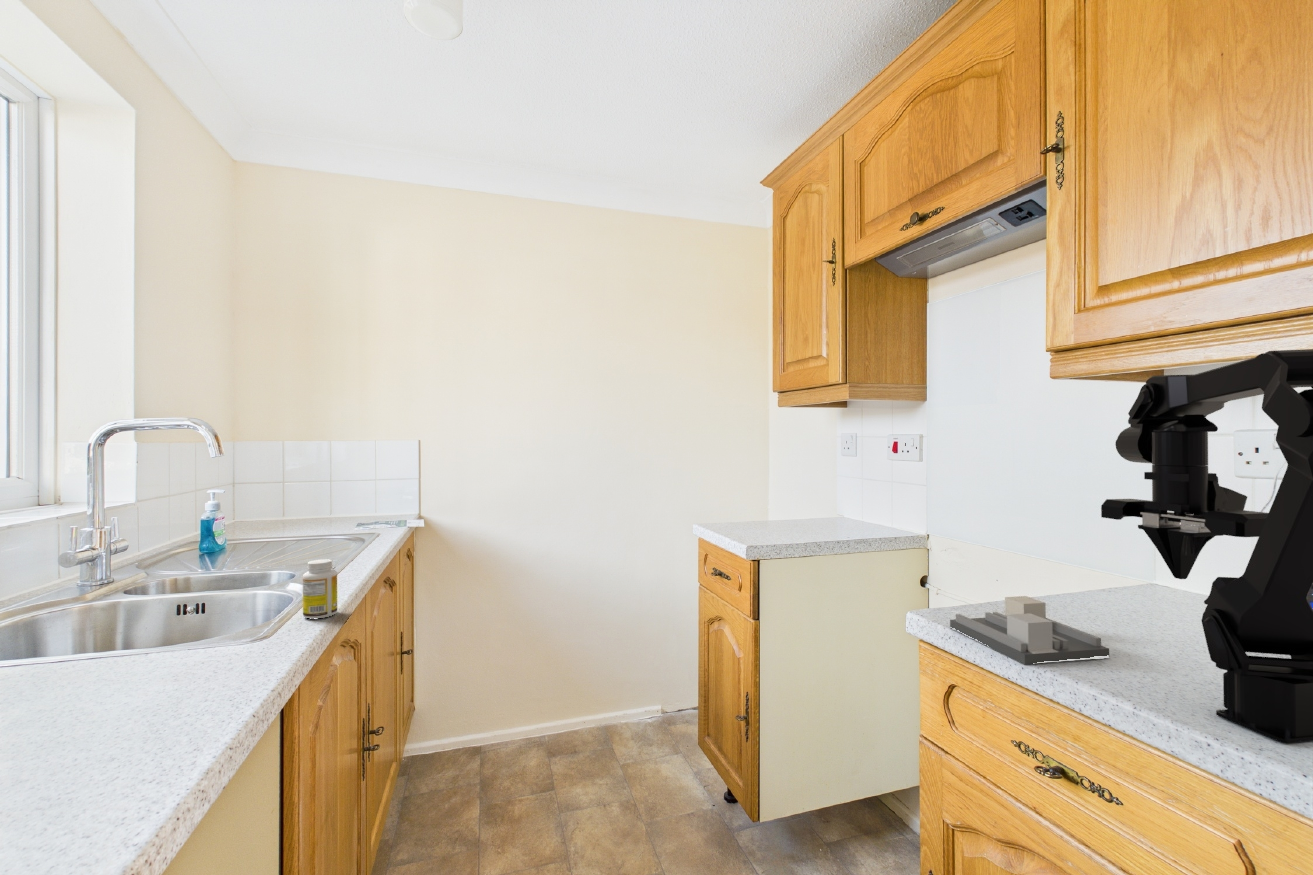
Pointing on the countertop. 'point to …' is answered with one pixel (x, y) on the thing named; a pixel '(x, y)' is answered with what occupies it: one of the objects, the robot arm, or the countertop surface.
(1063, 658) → the switch board
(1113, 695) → the countertop surface
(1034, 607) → the beige cube
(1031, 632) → the light grey cube
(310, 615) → the supplement bottle
